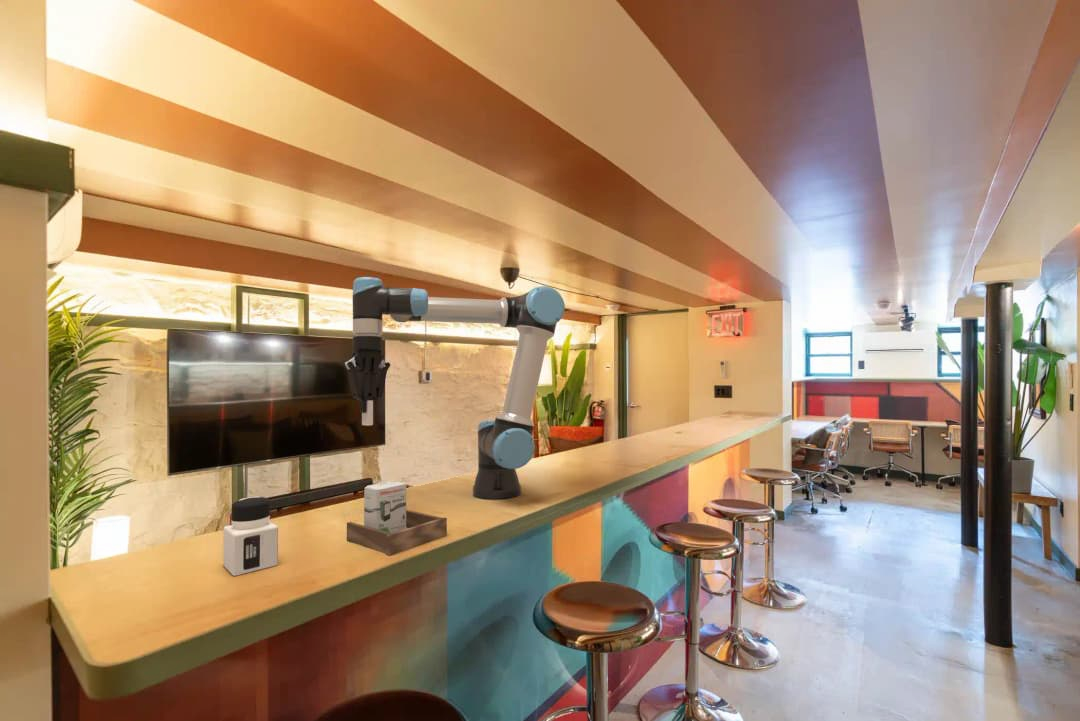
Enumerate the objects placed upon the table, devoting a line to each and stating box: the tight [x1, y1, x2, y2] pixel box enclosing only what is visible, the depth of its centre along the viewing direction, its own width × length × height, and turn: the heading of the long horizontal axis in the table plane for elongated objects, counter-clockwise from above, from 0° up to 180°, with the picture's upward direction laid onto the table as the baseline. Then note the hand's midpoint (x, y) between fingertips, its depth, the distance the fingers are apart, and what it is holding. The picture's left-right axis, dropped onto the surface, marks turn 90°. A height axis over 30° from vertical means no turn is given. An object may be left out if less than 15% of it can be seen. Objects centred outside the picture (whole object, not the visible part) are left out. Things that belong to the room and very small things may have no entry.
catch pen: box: [346, 509, 448, 557], centre depth 112 cm, size 16×16×4 cm
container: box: [222, 496, 279, 577], centre depth 97 cm, size 8×8×13 cm
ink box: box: [363, 480, 407, 533], centre depth 115 cm, size 9×5×12 cm, turn 143°
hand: (367, 425), depth 130 cm, fingers closed
